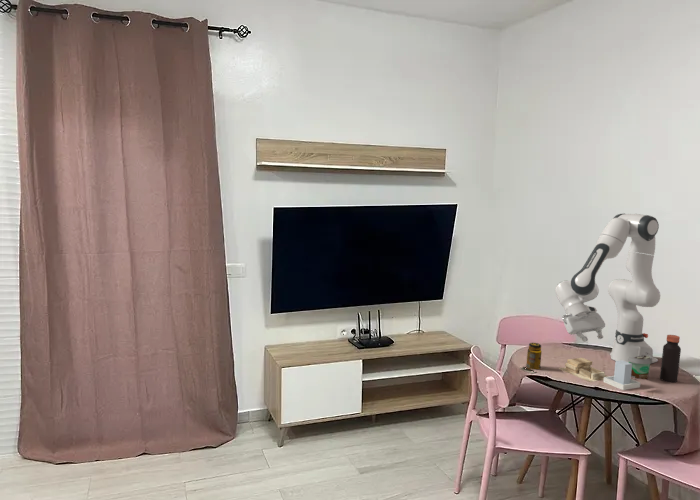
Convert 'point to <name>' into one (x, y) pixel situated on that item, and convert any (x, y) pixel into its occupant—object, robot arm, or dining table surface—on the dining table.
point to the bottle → (670, 359)
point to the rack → (588, 374)
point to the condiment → (533, 358)
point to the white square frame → (624, 387)
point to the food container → (640, 366)
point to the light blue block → (622, 372)
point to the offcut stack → (578, 364)
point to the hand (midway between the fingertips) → (593, 339)
